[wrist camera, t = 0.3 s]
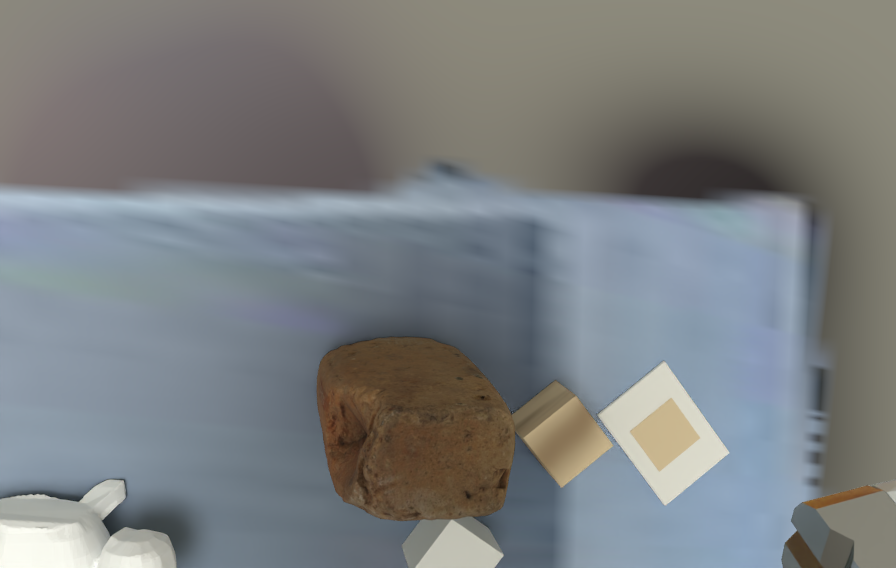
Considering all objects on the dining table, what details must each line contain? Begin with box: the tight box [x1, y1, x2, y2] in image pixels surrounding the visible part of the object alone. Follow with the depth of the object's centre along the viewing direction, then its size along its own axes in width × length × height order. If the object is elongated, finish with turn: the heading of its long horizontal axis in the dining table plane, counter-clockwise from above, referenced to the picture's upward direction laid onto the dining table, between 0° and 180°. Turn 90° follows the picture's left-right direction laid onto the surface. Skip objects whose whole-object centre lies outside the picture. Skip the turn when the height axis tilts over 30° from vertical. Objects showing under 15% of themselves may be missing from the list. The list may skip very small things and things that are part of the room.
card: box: [597, 361, 729, 506], centre depth 69 cm, size 10×7×1 cm
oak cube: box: [512, 380, 613, 488], centre depth 65 cm, size 5×5×5 cm
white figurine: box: [0, 479, 177, 568], centre depth 58 cm, size 9×8×15 cm
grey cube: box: [402, 517, 504, 568], centre depth 64 cm, size 5×5×5 cm
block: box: [317, 337, 515, 521], centre depth 54 cm, size 11×8×20 cm
